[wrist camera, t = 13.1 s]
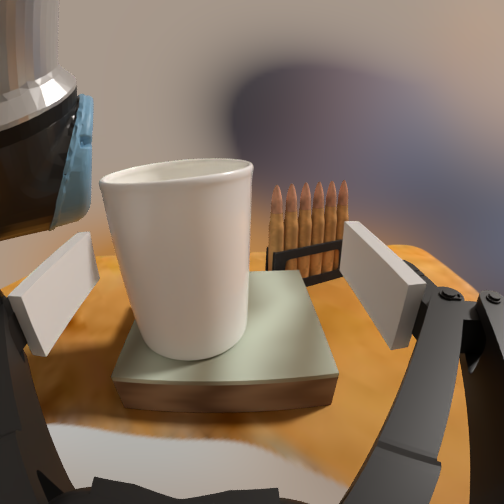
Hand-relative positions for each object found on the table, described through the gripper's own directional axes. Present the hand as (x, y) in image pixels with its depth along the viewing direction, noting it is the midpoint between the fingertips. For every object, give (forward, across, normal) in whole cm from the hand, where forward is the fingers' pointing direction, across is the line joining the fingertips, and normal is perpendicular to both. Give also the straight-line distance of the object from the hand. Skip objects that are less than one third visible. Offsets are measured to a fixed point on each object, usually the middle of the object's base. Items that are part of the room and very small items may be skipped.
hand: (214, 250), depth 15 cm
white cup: (+5, -2, -9) cm, 11 cm away
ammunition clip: (+18, +9, -12) cm, 24 cm away
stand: (+7, 0, -12) cm, 14 cm away
